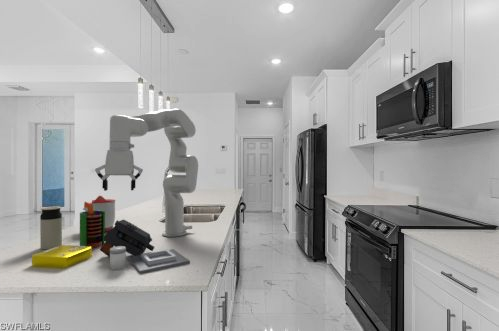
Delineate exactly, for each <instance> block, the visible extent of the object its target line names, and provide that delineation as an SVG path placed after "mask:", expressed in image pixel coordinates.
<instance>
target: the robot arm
mask: <svg viewBox="0 0 499 331" xmlns="http://www.w3.org/2000/svg"><path fill="white" fill-rule="evenodd" d="M162 129H164V130H163V131H164V134H165V136H166V137H167V140H168V141H169V144H170V153H169V158H168V170H169V172H171V173H174V174H169V175H168V176H167V175H166V176H165V177H164V179H163V180H162V187H163V194H164V225H165V226H164V231H162V232H161V235H162V236H163V237H166V238H167V237H168V238H172V237H173V238H175V237H181V236H185V235H187V230H191V229H193V225H186V224H185V223H184V222H185V221H184V216H185V215H184V214H185V212H184V199H183V196H182V195H181V194H192V193H194V192H195V190H196V188H197V181H198V172H199V161H198V158H197V157H196V156H195V155H192V154H188V155H187V145H186V143H185V142H184V139H186V138H193V137H194V136H195V135H196V130H197V129H196V125H195V124H194V122H193V121H192V119H191V118H190V117H189V116H188V115H187V114H186V112H184V111H183V110H182V109H179V108H172V109H161V110H158V111H154V112H153V111H152V112H148V113H142V114H139V115H134V116H127V115H121V114H114V115H111V117H110V118H109V149H107V152H106V156H105V164H103V165H101V166H99V167H97V168H95V169H94V171H95V173H96V174H97V176H98V178H99V179H101V180H102V187H101V188H102V189H103V191H104V192H105V191H106V192H107V191H108V188H109V187H108V184H109V183H108V182H109V181H108V178H109V177H110V176H129V177H130V178H131V180H130V190H131V191H134V189H136V181H137V179H139V177H140V176H141V175H142V173H143V171H144V169H143V168H141V167H139V166H137V165H135V163H134V152H133V150H132V149H134V148H135V144H133V143H131V138H137V137H139V138H140V137H143V136H145V135H147V133H149V132H156V131H160V130H162ZM102 170H104V173H105V174H102V172H101V171H102ZM134 171H138V172H137V173H136V175H134ZM175 173H176V174H175Z"/></svg>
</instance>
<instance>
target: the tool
mask: <svg viewBox="0 0 499 331" xmlns="http://www.w3.org/2000/svg"><path fill="white" fill-rule="evenodd" d="M104 241H105V243H104V244H102V246H101V247H99V248H100V249H99V250H100V252H102V253H103V254H104V255H105V256H107V257H108V258H110V248H112V247H117V246H125V247H126V253H128V254H130V255H131V256H137V255H141V254H143V253H146V250H149V251H150V252H154V250H155V246H154V245H152V244H150V243H151V242H152V241H153V238H152V237H151V234H150V233H149V232H147V231H145V230H143V229H141V228H140V227H138V226H137V225H135V224H133V223H131V222H130V221H128V220H125V219H121V220H118V219H117V220H116V221H114V224H113V227H112V228H110V229H109V230H108V231H106V232H105V236H104Z"/></svg>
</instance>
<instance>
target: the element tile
mask: <svg viewBox="0 0 499 331" xmlns="http://www.w3.org/2000/svg"><path fill="white" fill-rule="evenodd" d="M92 255H93V250H92V247H90V246H80V245H74V244H73V245H71V244H69V245H68V244H62V245H61V246H58V247H55V248H52V249H48V250H43V251H41V252H36V253H34V254H32V255H31V267H32V268H33V267H34V268H46V269H57V268H58V269H66V268H70V267H72V266H74V265H77V264H79V263H81V262H83V261H86V260H88V259H90V258H92V257H93V256H92Z"/></svg>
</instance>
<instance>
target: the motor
mask: <svg viewBox="0 0 499 331" xmlns="http://www.w3.org/2000/svg"><path fill="white" fill-rule="evenodd" d="M87 202H88V201H87ZM83 206H84V207H87V208H88V211H85V210H84V211H81V212H80V213H79V246H90V247H92V249H93V250H94V249H98V248H101V247H102V246H103V244H104V243H105V241H104V236H105V234H106V232H105V211H100V210H95V211H93V205H92V201H91V202H90V201H89V202H88V203H84V204H83ZM84 207H83V208H84Z"/></svg>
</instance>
